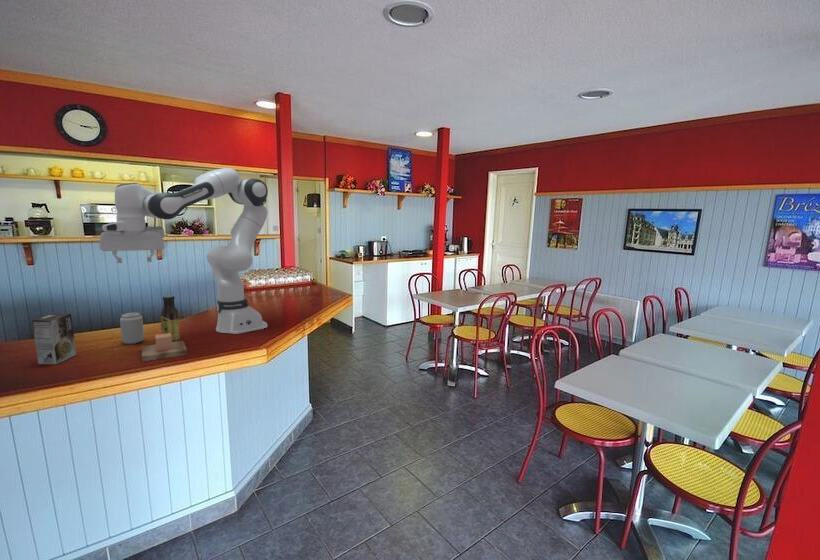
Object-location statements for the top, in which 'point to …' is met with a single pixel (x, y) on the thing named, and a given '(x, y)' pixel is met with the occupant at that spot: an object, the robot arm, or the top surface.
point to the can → (131, 328)
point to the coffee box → (54, 338)
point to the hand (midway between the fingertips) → (134, 262)
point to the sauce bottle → (170, 318)
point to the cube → (163, 341)
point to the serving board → (163, 351)
